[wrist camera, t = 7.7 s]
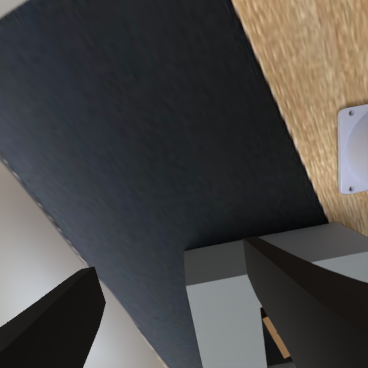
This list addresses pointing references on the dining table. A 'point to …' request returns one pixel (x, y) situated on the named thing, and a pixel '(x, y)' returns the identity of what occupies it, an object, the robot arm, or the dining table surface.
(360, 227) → the dining table surface
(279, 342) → the brown wooden block
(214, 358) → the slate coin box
